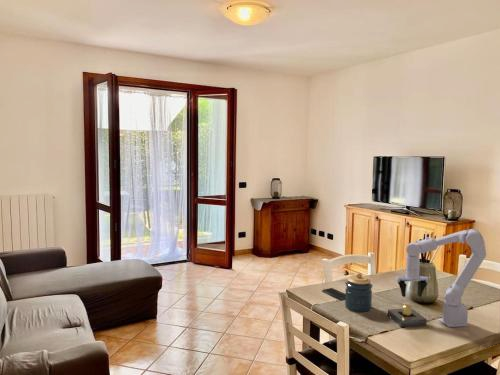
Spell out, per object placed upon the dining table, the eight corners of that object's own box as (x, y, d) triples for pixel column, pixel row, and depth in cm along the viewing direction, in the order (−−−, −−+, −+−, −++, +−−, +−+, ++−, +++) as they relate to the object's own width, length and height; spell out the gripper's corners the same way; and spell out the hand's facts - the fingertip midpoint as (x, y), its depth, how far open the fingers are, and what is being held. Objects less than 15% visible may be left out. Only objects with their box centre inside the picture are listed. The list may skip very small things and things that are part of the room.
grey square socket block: (411, 314, 180) (411, 308, 180) (426, 325, 169) (426, 319, 168) (387, 315, 179) (387, 309, 179) (400, 327, 167) (401, 320, 167)
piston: (407, 318, 176) (408, 304, 175) (413, 322, 172) (413, 307, 171) (400, 319, 175) (400, 304, 174) (405, 322, 171) (405, 308, 171)
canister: (373, 313, 181) (374, 278, 179) (345, 311, 183) (346, 276, 182) (370, 303, 194) (371, 269, 192) (344, 301, 196) (345, 268, 195)
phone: (340, 299, 197) (321, 290, 210) (340, 301, 197) (321, 291, 210) (351, 296, 201) (332, 287, 214) (351, 298, 201) (332, 289, 214)
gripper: (401, 270, 173) (399, 299, 174) (432, 270, 173) (430, 299, 175) (394, 266, 180) (393, 293, 181) (424, 266, 180) (423, 293, 182)
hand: (411, 296), depth 178 cm, fingers open, 7 cm apart
